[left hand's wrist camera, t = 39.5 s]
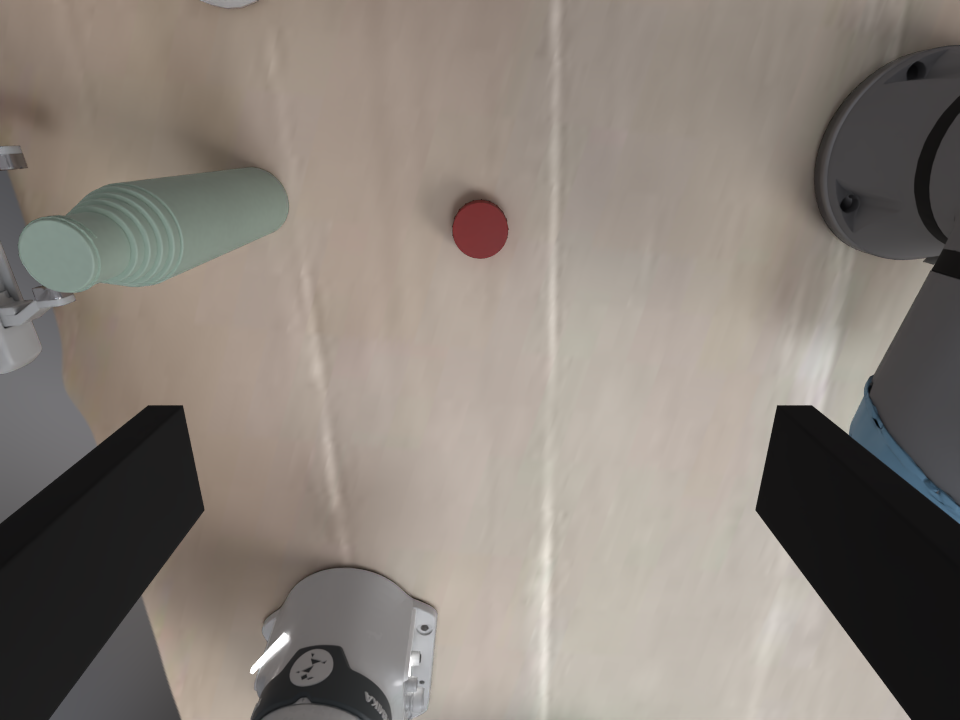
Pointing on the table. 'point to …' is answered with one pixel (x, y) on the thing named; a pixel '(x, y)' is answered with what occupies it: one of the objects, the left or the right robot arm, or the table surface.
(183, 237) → the bottle
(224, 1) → the mug
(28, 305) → the right robot arm
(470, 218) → the cap
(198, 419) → the table surface
